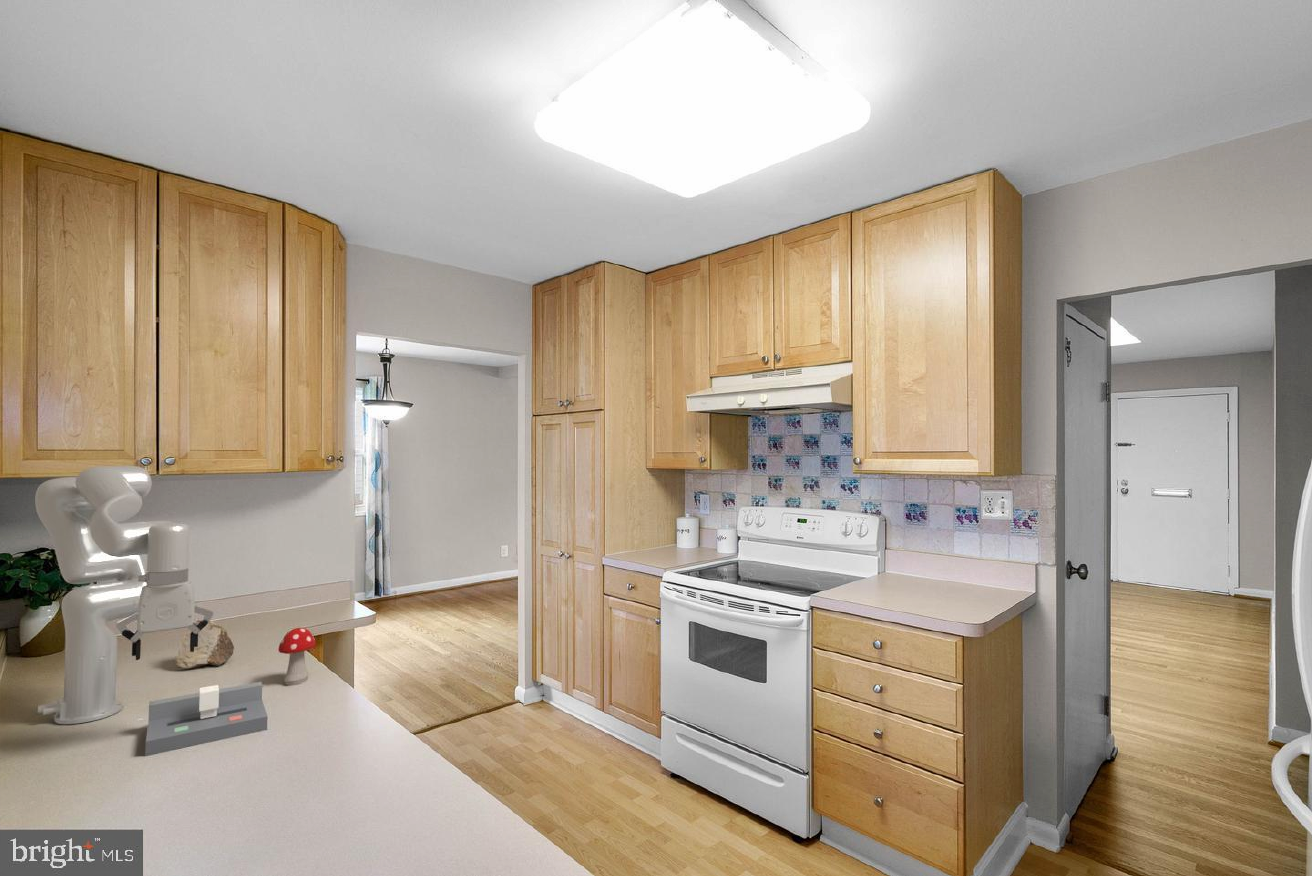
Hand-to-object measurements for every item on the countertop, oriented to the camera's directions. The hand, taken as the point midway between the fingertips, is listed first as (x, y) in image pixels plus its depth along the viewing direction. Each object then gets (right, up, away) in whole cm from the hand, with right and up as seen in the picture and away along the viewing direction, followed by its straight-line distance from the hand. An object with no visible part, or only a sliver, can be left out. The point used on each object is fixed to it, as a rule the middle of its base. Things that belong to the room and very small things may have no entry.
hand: (165, 654), depth 141 cm
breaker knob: (+7, -16, +4) cm, 17 cm away
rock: (-26, -21, +49) cm, 59 cm away
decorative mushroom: (+9, -20, +36) cm, 42 cm away
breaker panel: (+7, -19, +4) cm, 20 cm away
